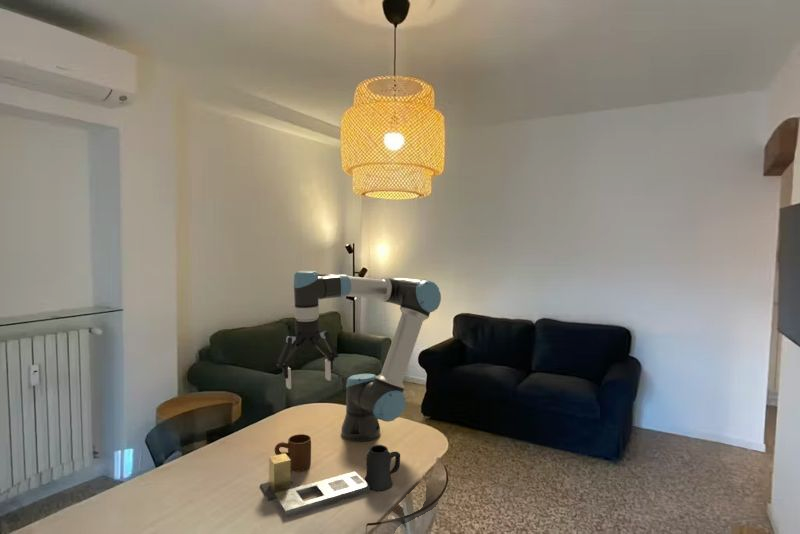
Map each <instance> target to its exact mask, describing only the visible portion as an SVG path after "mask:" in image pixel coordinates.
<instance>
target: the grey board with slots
mask: <svg viewBox="0 0 800 534" xmlns="http://www.w3.org/2000/svg"><path fill="white" fill-rule="evenodd" d="M370 492H371V491H370V485H369V484H368V483H367V482H365V481H364V479H363V477H362V476H361V475H359V474H358V472H356V471H351V472H348V473H344V474H340V475H336V476H333V477H329V478H325V479H322V480H318V481H315V482H314V481H313V482H312V483H308V484H304V485H300V486H296V488H292V489H289V490H285V491H281V492H278V493H275V499H274V502H275V503H276V505H277V506H278V508H279V510H280V511H281V513H282V515H283V516H284V517H285V519H286V518H290V517H293V516H297V515H299V514H304V513H307V512H309V511H313V510H317V509H319V508H322V507H326V506H328V505H333V504H334V503H335V504H336V503H338V502H342V501H345V500H348V499H352V498H355V497H359V496H361V495H364V494H367V493H370ZM312 493H313V494H314V493H316V494H318V497H314V498H312V499H307V500H305V501H304V500H303V499H302V496H306V495H311V494H312Z"/></svg>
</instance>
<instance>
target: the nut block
mask: <svg viewBox="0 0 800 534" xmlns="http://www.w3.org/2000/svg"><path fill="white" fill-rule="evenodd" d="M291 471H292V470H291V460H290V459H289V457H288V456H287V455H286V454H285V453H284V454H280V455H276V454H275V455H272V456H271V455H270V456H269V457H268V482H269V486H270V488H271V490H272V491H273V493H277V492H281V491H285V490H288V489H290V479H291V477H292V476H291V473H292V472H291Z"/></svg>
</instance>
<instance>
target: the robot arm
mask: <svg viewBox="0 0 800 534" xmlns="http://www.w3.org/2000/svg"><path fill="white" fill-rule="evenodd" d="M293 293H294V294H293V295H294V296H293V297H294V318H295V319H296V320H295V321H294V323H295V324H294V325H295V327H294V328H295V331H294V332H295V335H294V336H289V335H286V336H285V342H284V345H283V348H282V350H281V352H280V355H279V357H278V360H277V361H276V366H277V367H278V368H280V369H282V377H283V379H285V387H286V388H287V389H288V390H291V389H292V371H291V369H292V368H290V366H291V364H292V363H293V361H294V360H295V359H296V357H297V356H298V355H299V353H300V352H301V351H302V350H303V349H304V350H306V349H310V348H311V349H312V348H314V347H316V348H317V349H318V350H319V351H320V353H321V354H323V356H325V358H326V359H325V360H324V373H325V375H324V376H325V380H327V381H328V382H330V381H331V380H332V375H331V374H332V370H333V369H334V361H335V359H337V358H338V357H339V354H338V352H337V351H336V348H335V346H334V345H333V343H332V340H331V339H330V336H329V335H330V334H329V332H328V331H326V330H322V331H321V332H320V319H319V317H320V311H319V310H320V309H319V306H320V305H319V303H320V302H319V301H320V300H325V299H333V298H342V297H354V298H363V299H364V298H365V299H376V300H377V299H378V300H379V301H380V302H382V303H389V304H394V305H397V306H399V310H400V312H401V316H400V318H399V320H398V323H397V327H396V329H395V333H394V336H393V338H392V340H391V341H392V342H391V344H390V346H389V349H388V352H387V355H386V358H385V360H384V362H383V365H382V366H383V367H382V369H381V372H380V373H379V374H378V375H376V374H373V373H359V374H353V375H350V376H348V378H346V379H347V380H346V385H345V388H346V390H345V392H346V394H345V395H346V404H345V405H346V407H345V409H346V410H345V412H346V413H345V417H344V419H343V422H342V425H341V431H340V433H341V436H342V437H343V438H344V439H347V440H348V441H354V442H367V441H371V440H372V441H373V440H375V439H377V438H378V437H379V436H380V435H381V426H380V423H379V420H380V421H383V422H388V423H389V422H393V421H395V420H396V419H398V418H400V416H401V415H402V413H403V412H404V411H405V408H406V404H407V400H406V395H404V390H405V385H404V383H403V381H404V377H405V375H406V373H407V370H408V366H409V363H410V360H411V358H412V355H413V352H414V349H415V346H416V343H417V340H418V337H419V334H420V331H421V329H422V325H423V322H424V321H425V320H428V319H429V318H430V315H431V313H433V312H435V311H436V310H438V309H439V307H440V304H441V300H442V294H441V291H440V288H439V286H438V285H437V284H436V282H434V281H431V280H428V279H425V278H424V279H421V278H411V277H382V278H381V279H380V278H378V279H376V278H370V277H359V276H350V275H347V274H338V273H337V274H334V273H333V274H332V273H322V272H317V271H316V270H300V271H296V272H295V273H294V275H293ZM320 338H322V339H323V341H324V343H325V345H326V346H327V349H328V350H329V352H328V351H327V349H325V348H324V347H323V345H322V344H321V343H320V342H319V340H320ZM294 342H296V343H295V344H294ZM292 344H294V346H293V348H292V350H291V347H292ZM290 350H291V352H290ZM289 352H290V353H289Z"/></svg>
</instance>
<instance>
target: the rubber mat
mask: <svg viewBox="0 0 800 534" xmlns="http://www.w3.org/2000/svg"><path fill="white" fill-rule="evenodd" d="M259 486H260V489H261V490H262V491H263V493H264V495H265V497H266V498H267V500H268V501H272V500H275V493H273V491H272V490H271V488H270V486H269V481H268V482H263V483H261V484H260V485H259ZM296 487H297V486H296V484H295V483H294V482H293V480H292V479H291V478H290V489H292V488H296ZM288 490H289V489H288ZM277 493H278V492H277Z"/></svg>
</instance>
